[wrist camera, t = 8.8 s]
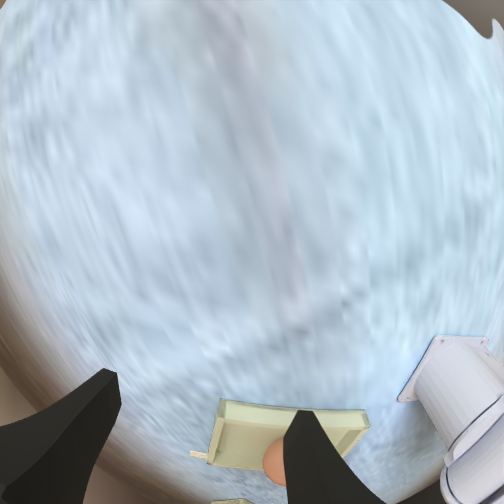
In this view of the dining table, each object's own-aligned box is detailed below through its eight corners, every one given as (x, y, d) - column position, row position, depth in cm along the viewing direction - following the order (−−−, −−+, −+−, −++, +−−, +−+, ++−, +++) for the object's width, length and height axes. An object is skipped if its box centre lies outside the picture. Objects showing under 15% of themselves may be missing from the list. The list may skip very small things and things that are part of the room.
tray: (364, 409, 22) (370, 425, 19) (328, 456, 24) (331, 470, 22) (219, 398, 21) (217, 417, 19) (208, 448, 24) (206, 463, 22)
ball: (318, 427, 23) (341, 466, 18) (286, 455, 23) (303, 492, 18) (277, 423, 21) (299, 470, 16) (245, 452, 21) (260, 496, 16)
